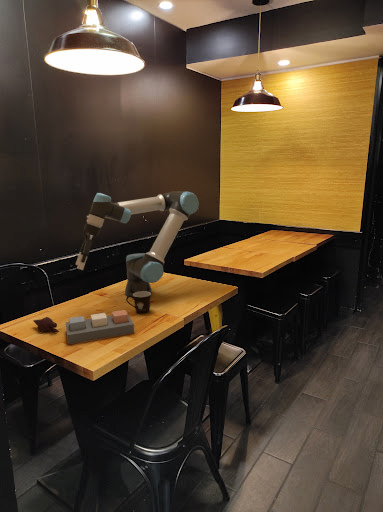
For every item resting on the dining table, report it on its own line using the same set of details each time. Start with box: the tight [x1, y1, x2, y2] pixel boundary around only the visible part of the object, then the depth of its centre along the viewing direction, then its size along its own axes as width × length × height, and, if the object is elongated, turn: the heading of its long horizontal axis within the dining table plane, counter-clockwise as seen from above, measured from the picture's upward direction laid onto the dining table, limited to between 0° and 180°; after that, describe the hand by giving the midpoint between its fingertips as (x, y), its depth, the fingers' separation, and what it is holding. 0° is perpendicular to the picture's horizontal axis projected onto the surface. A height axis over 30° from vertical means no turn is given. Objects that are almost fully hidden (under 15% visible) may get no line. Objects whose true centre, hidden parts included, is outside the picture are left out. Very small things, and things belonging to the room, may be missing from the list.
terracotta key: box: [111, 309, 129, 324], centre depth 161 cm, size 6×6×4 cm
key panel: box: [65, 314, 135, 345], centre depth 159 cm, size 27×14×5 cm, turn 111°
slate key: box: [68, 315, 86, 331], centre depth 155 cm, size 6×6×4 cm
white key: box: [90, 312, 107, 327], centre depth 158 cm, size 6×6×4 cm
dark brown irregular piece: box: [32, 316, 60, 334], centre depth 162 cm, size 7×7×15 cm
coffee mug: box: [125, 291, 152, 315], centre depth 182 cm, size 12×9×10 cm
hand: (78, 267), depth 176 cm, fingers open, 13 cm apart
